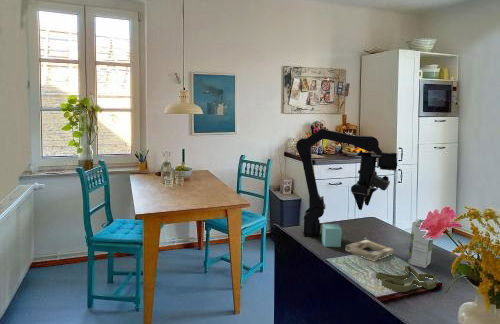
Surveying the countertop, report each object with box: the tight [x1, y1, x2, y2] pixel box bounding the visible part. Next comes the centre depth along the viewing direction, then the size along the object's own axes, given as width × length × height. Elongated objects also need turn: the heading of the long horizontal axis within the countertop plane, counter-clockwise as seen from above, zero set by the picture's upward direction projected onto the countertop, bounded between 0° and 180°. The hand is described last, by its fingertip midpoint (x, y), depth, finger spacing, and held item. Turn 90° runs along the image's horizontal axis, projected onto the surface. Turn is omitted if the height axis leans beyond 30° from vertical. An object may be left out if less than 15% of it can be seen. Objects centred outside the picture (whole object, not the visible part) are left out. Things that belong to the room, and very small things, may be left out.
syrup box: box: [407, 218, 434, 269], centre depth 124 cm, size 6×6×14 cm
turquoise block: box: [321, 223, 343, 248], centre depth 142 cm, size 6×6×7 cm
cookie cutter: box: [375, 265, 438, 293], centre depth 111 cm, size 18×12×2 cm, turn 116°
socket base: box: [344, 236, 395, 262], centre depth 135 cm, size 13×13×2 cm
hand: (363, 207), depth 147 cm, fingers open, 9 cm apart
